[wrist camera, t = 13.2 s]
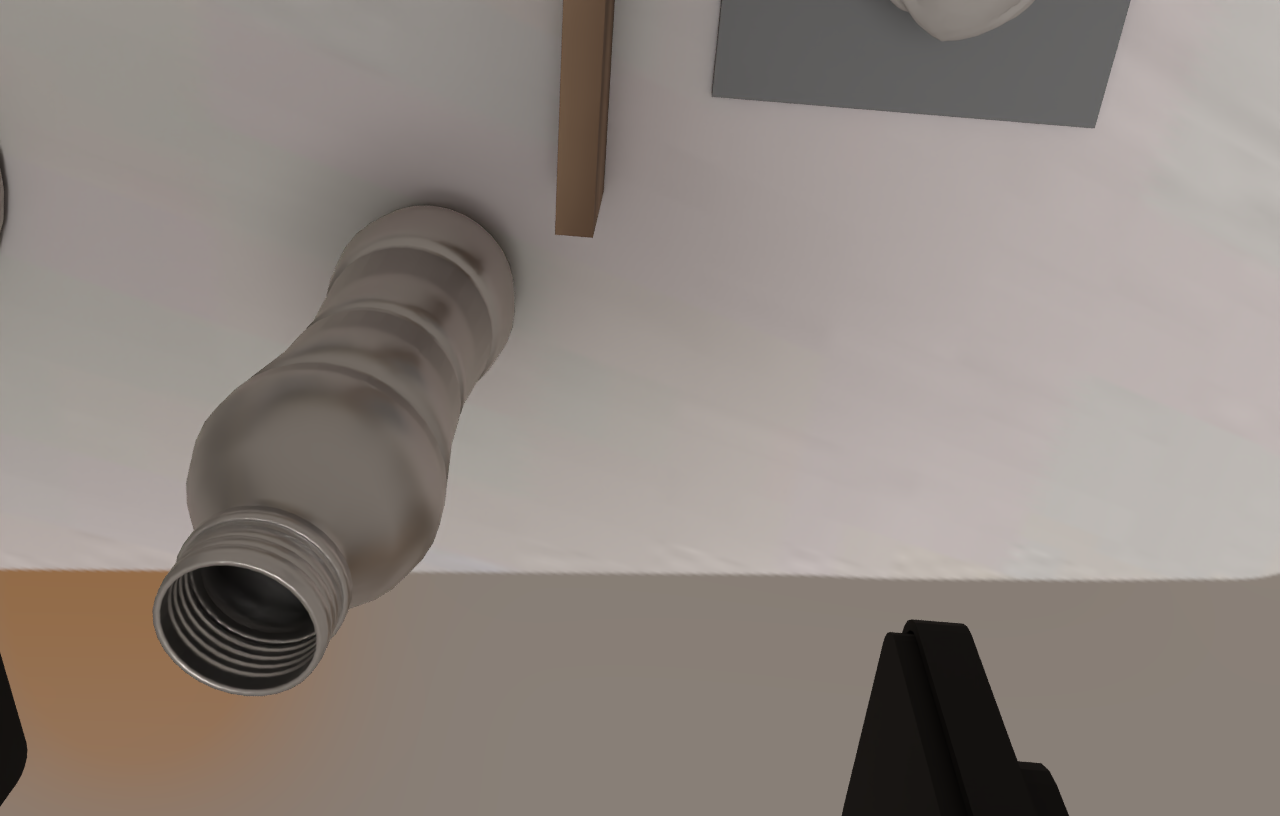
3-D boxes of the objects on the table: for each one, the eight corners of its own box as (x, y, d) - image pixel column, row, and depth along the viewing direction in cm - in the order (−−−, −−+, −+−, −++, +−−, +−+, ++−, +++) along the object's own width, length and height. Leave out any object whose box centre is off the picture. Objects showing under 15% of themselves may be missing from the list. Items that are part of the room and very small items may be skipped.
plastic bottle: (542, 216, 38) (419, 540, 20) (503, 375, 41) (367, 774, 23) (367, 166, 37) (83, 456, 20) (341, 332, 40) (76, 709, 23)
